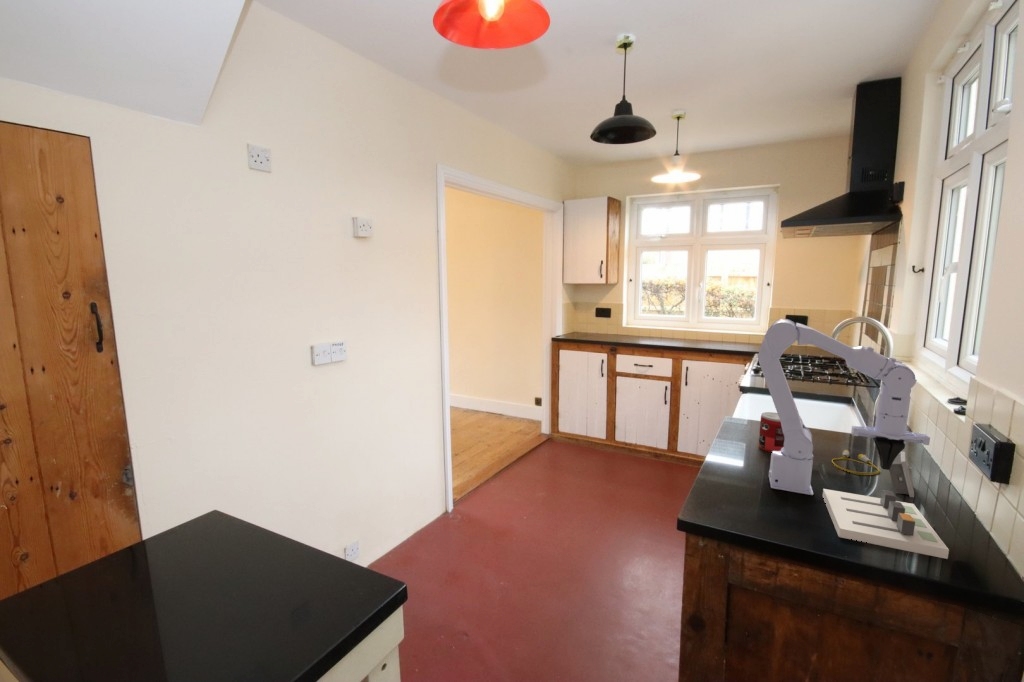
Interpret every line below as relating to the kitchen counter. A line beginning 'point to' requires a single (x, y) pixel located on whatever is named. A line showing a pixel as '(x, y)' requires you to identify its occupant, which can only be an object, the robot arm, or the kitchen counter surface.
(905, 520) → the handle
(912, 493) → the electrical switch
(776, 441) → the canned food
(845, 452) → the extension cord
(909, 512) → the breaker panel
